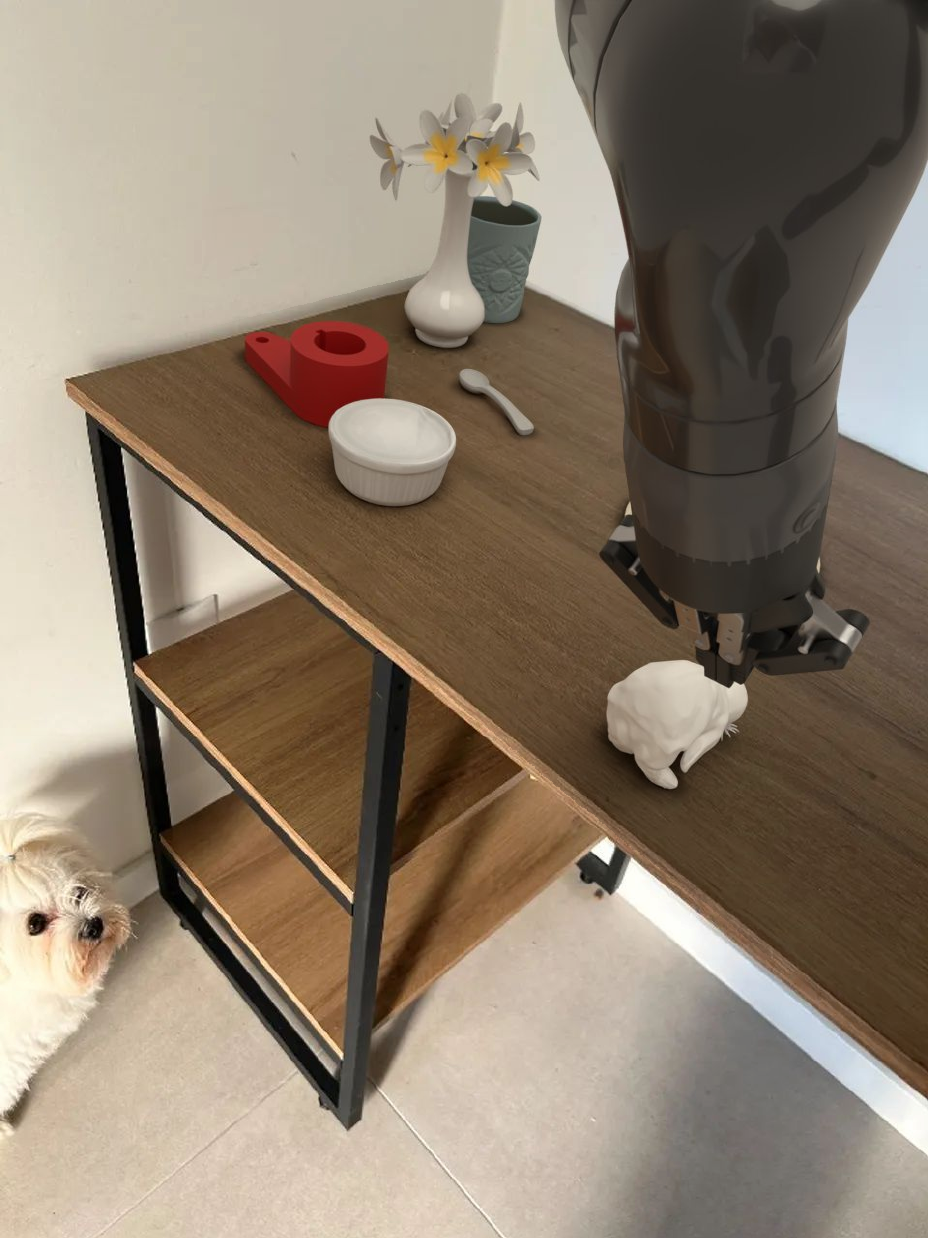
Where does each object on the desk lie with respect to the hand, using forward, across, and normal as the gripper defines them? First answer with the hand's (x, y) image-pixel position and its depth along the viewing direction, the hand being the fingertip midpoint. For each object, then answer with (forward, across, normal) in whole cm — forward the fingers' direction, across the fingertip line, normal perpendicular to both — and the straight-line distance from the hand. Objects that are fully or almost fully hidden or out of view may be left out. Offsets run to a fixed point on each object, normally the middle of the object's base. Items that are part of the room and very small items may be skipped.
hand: (726, 668), depth 50 cm
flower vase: (+29, +55, -33) cm, 70 cm away
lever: (+19, +56, -16) cm, 61 cm away
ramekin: (+18, +39, -9) cm, 44 cm away
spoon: (+26, +41, -26) cm, 55 cm away
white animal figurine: (+16, +4, 0) cm, 17 cm away
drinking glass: (+34, +57, -44) cm, 80 cm away
